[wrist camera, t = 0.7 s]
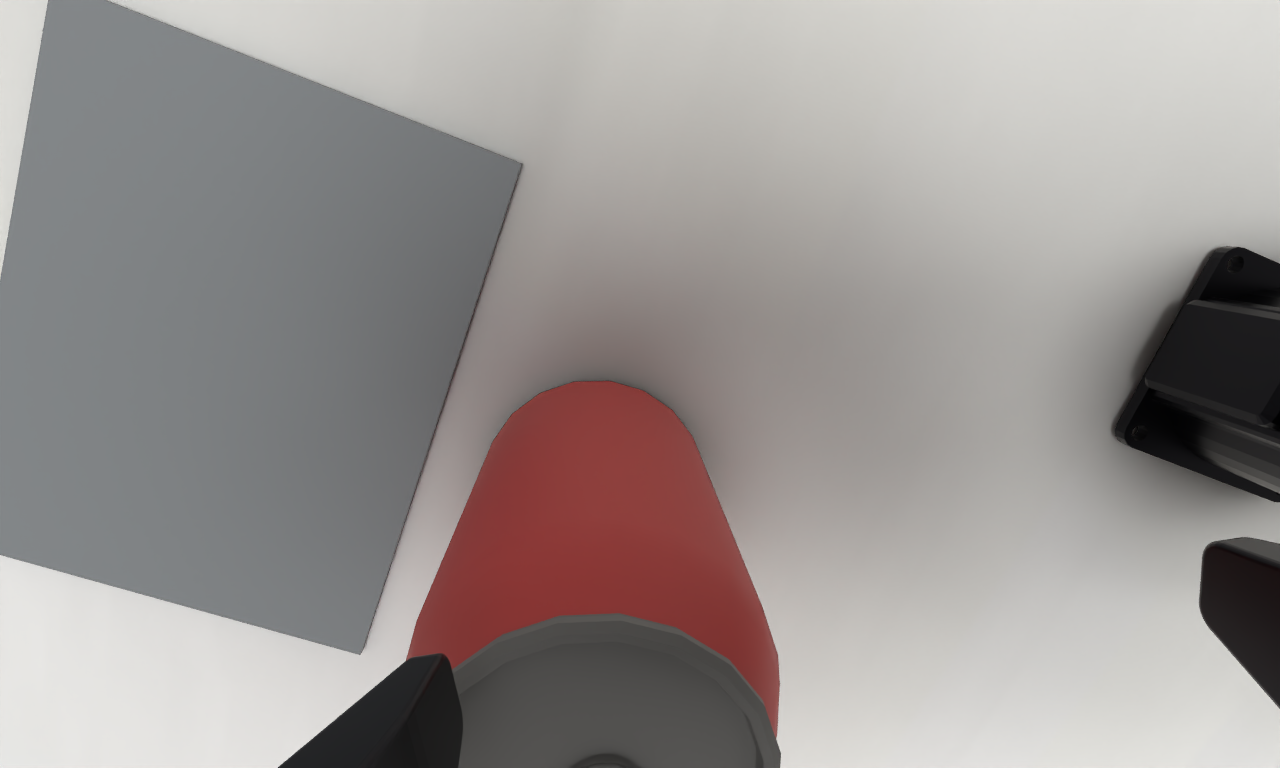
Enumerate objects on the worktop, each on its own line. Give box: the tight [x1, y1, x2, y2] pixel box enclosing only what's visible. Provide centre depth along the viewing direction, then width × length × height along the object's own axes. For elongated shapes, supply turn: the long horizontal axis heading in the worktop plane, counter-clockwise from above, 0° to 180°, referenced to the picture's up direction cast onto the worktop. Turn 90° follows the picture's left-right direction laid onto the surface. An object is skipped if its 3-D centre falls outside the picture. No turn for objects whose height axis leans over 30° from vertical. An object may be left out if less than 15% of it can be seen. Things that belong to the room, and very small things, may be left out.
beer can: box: [406, 381, 781, 768], centre depth 16 cm, size 7×7×12 cm
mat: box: [0, 0, 522, 655], centre depth 20 cm, size 12×16×1 cm
